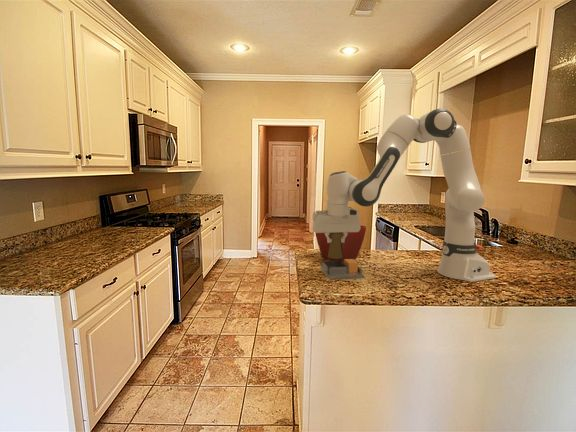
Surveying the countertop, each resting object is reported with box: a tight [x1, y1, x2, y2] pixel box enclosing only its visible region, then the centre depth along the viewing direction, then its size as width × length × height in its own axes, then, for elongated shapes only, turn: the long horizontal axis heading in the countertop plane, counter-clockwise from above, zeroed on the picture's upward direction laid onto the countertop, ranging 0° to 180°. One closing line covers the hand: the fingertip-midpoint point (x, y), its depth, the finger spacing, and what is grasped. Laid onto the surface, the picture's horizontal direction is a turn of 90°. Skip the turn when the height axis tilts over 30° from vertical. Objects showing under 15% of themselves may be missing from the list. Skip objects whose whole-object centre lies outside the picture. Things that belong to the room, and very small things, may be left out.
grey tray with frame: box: [320, 260, 365, 281], centre depth 129 cm, size 15×13×4 cm
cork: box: [328, 233, 342, 259], centre depth 127 cm, size 6×6×11 cm
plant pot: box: [314, 224, 367, 262], centre depth 151 cm, size 19×19×17 cm
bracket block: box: [344, 259, 359, 272], centre depth 129 cm, size 4×6×4 cm, turn 9°
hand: (335, 242), depth 127 cm, fingers closed on cork, 4 cm apart
